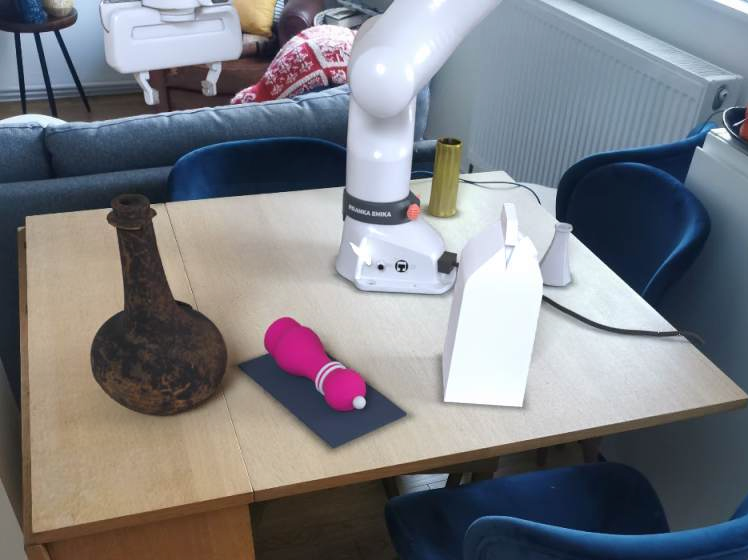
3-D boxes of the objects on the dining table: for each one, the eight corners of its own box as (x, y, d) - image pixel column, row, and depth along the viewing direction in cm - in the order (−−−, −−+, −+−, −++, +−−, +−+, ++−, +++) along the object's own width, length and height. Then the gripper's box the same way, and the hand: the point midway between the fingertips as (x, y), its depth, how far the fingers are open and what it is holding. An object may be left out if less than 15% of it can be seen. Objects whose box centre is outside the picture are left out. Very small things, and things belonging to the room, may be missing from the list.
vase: (425, 215, 159) (432, 144, 149) (429, 204, 164) (436, 134, 154) (454, 219, 159) (463, 147, 149) (457, 208, 163) (466, 137, 153)
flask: (528, 281, 140) (539, 229, 133) (537, 266, 145) (548, 214, 138) (566, 291, 138) (579, 238, 132) (574, 274, 143) (587, 223, 136)
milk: (442, 357, 120) (464, 190, 102) (514, 362, 120) (549, 196, 102) (444, 401, 111) (468, 228, 93) (522, 406, 111) (561, 234, 93)
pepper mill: (279, 364, 117) (359, 435, 107) (251, 344, 111) (333, 417, 101) (308, 327, 116) (391, 394, 106) (282, 304, 110) (367, 374, 100)
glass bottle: (248, 373, 113) (233, 182, 94) (200, 445, 100) (172, 241, 81) (136, 353, 115) (100, 162, 96) (76, 420, 102) (20, 216, 83)
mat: (238, 366, 114) (237, 364, 114) (308, 341, 121) (308, 338, 120) (333, 448, 101) (333, 446, 101) (406, 415, 108) (406, 412, 108)
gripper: (107, -2, 97) (126, 115, 106) (244, -13, 107) (250, 95, 116) (86, -12, 100) (106, 103, 109) (221, -21, 110) (229, 85, 119)
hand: (181, 99), depth 113 cm, fingers open, 8 cm apart
